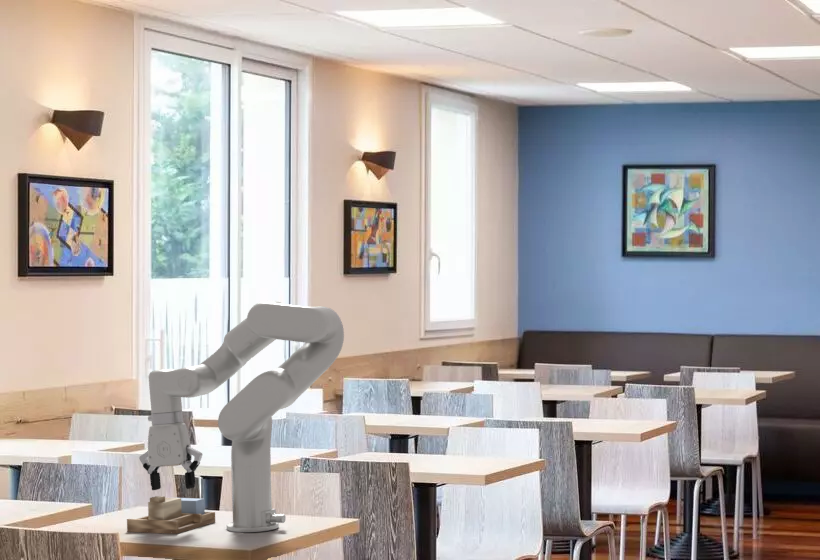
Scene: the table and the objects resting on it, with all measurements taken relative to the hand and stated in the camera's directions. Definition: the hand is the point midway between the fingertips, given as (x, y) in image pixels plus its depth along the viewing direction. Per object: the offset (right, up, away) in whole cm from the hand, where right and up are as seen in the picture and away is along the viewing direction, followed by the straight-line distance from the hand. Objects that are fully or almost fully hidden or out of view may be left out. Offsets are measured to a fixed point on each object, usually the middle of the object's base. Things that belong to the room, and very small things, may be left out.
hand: (173, 488), depth 353 cm
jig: (-1, -10, +1) cm, 10 cm away
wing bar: (+2, -9, +6) cm, 11 cm away
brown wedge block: (-2, -9, -2) cm, 9 cm away
